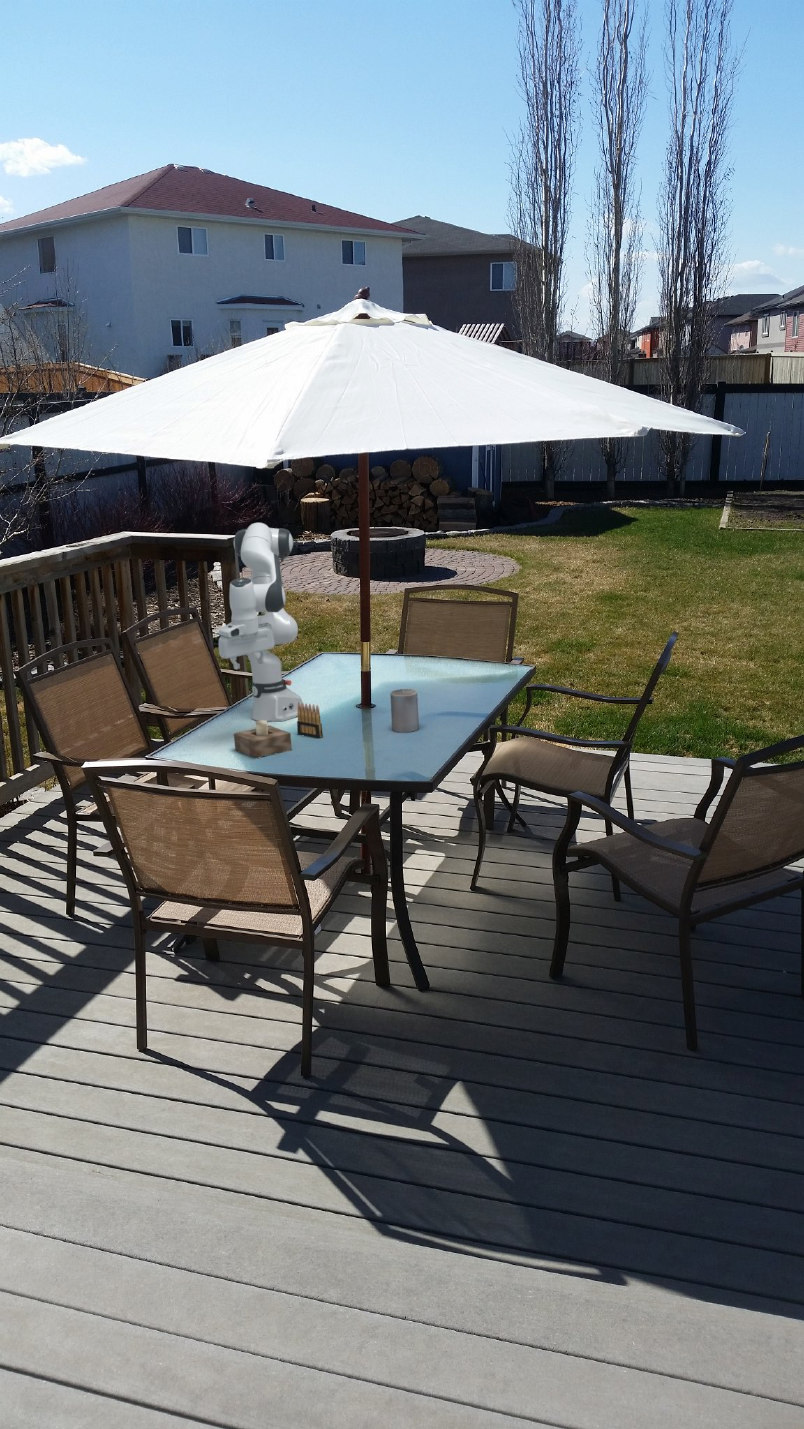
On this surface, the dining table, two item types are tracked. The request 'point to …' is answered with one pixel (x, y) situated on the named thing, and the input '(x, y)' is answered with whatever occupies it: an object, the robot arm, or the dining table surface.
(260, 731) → the peg
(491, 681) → the dining table surface
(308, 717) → the ammunition clip
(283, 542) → the robot arm
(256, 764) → the dining table surface
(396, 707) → the pillar candle
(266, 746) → the socket block
